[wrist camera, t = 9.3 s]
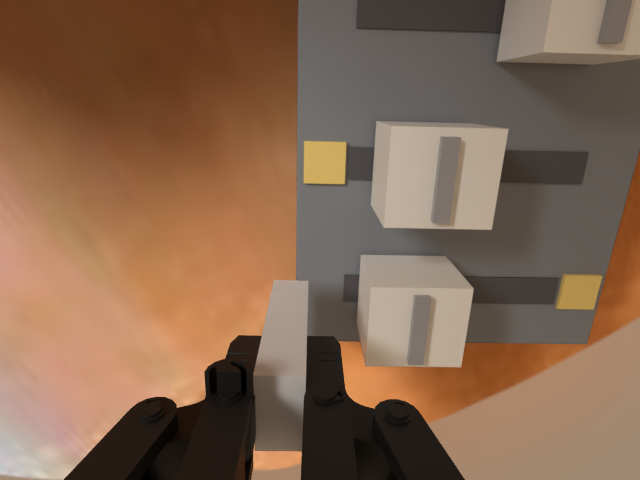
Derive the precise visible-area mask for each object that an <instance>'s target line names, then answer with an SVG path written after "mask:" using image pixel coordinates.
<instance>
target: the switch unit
mask: <svg viewBox="0 0 640 480" xmlns="http://www.w3.org/2000/svg"><path fill="white" fill-rule="evenodd" d="M505 2H506V0H298V98H297V252H296V281H308V318H307V336H334V337H335V339H336V340H337V341H358V342H360V337H359V332H358V327H357V309H358V292H359V276H360V259H361V255H409V256H446V257H447V258H448V259H449V260H450V261H451V263H452V264H453V265H454V266H455V267H456V268H457V270H458V271H459V272H460V273H461V274H462V275H463V277H464V278H465V279H466V280H467V281H468V282H469V284H470V285H471V286H472V287H473V288H474V291H473V297H472V303H471V309H470V316H469V322H468V328H467V334H466V341H465V343H536V344H587V342H588V338H589V335H590V331H591V327H592V324H593V320H594V316H595V313H596V309H597V305H598V302H599V298H600V294H601V291H602V287H603V283H604V280H605V276H606V272H607V269H608V265H609V261H610V258H611V254H612V250H613V247H614V243H615V239H616V236H617V232H618V228H619V225H620V221H621V217H622V214H623V210H624V206H625V203H626V199H627V195H628V192H629V188H630V184H631V181H632V177H633V173H634V170H635V166H636V162H637V159H638V155H639V151H640V59H635V60H627V61H619V62H611V63H603V64H595V65H588V64H553V63H519V62H496V61H497V55H498V48H499V42H500V35H501V28H502V22H503V15H504V9H505ZM376 121H398V122H438V123H472V124H479V125H486V126H493V127H499V128H506V129H509V130H508V136H507V142H506V148H505V153H504V159H503V165H502V171H501V177H500V183H499V189H498V195H497V201H496V207H495V213H494V219H493V225H492V230H476V229H421V228H383V226H382V224H381V222H380V220H379V219H378V217H377V215H376V213H375V211H374V210H373V208H372V206H371V193H372V178H373V163H374V148H375V133H376Z"/></svg>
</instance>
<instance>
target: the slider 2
mask: <svg viewBox="0 0 640 480" xmlns="http://www.w3.org/2000/svg"><path fill="white" fill-rule="evenodd" d="M473 291H474V288H473V287H472V286H471V285H470V284H469V282H468V281H467V280H466V279H465V278H464V277H463V275H462V274H461V273H460V272H459V271H458V270H457V268H456V267H455V266H454V265H453V264H452V263H451V261H450V260H449V259H448V258H447V257H446V256H409V255H361V259H360V276H359V292H358V309H357V327H358V332H359V337H360V342H361V347H362V352H363V357H364V362H365V366H383V367H461V365H462V359H463V353H464V347H465V341H466V334H467V328H468V322H469V316H470V309H471V303H472V297H473Z"/></svg>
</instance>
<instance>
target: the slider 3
mask: <svg viewBox="0 0 640 480" xmlns="http://www.w3.org/2000/svg"><path fill="white" fill-rule="evenodd" d="M635 59H640V0H506V2H505V9H504V15H503V22H502V28H501V35H500V42H499V48H498V55H497V61H496V62H519V63H553V64H588V65H595V64H603V63H611V62H619V61H627V60H635Z"/></svg>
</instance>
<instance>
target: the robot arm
mask: <svg viewBox="0 0 640 480" xmlns="http://www.w3.org/2000/svg"><path fill="white" fill-rule="evenodd" d="M307 318H308V281H295V280H274V283H273V287H272V292H271V296H270V301H269V306H268V310H267V315H266V319H265V324H264V328H263V333H262V336H244V335H239V336H238V337H237V338H236V339H234V340H233V341H232V342H231V343H230V346H229V349H228V353H227V355H226V358H225V359H223V360H220V361H217V362H214V363H213V364H211V365H210V366H208V368H207V369H206V370H205V387H206V397H205V399H204V400H203V401H200V402H198V403H196V404H192V405H188V406H184V407H179V408H177V406H176V404H175V402H174V401H173V400H171V399H169V398H166V397H154V398H149V399H146V400H143V401H141V402H139V403H137V404H136V405H135V406H133V407H132V408H131V409H130V410H129V411H128V412H127V413H126V414H125V415H124V416H123V417H122V418H121V419H120V421H119V422H118V423H117V424H116V425H115V426H114V427H113V428H112V429H111V430H110V431H109V432H108V433H107V434H106V435H105V436H104V438H103V439H102V440H101V441H100V442H99V443H98V444H97V445H96V446H95V447H94V448H93V449H92V450H91V451H90V452H89V453H88V454H87V456H86V457H85V458H84V459H83V460H82V461H81V462H80V463H79V464H78V465H77V466H76V467H75V468H74V469H73V470H72V471H71V472H70V474H69V475H68V476H67V477H66V478H65V479H64V480H251V476H252V470H253V449H254V443H255V451H302V464H301V480H465V479H464V478H463V476H462V475H461V474H460V472H459V470H458V469H457V467H456V466H455V464H454V463H453V462H452V460H451V458H450V457H449V456H448V454H447V453H446V451H445V450H444V448H443V447H442V445H441V444H440V442H439V441H438V439H437V438H436V436H435V435H434V433H433V432H432V430H431V429H430V427H429V426H428V424H427V423H426V421H425V420H424V418H423V417H422V415H421V414H420V412H419V411H418V410H417V409H416V408H415V407H414V406H413V405H411V404H409V403H407V402H405V401H401V400H397V399H390V400H385V401H382V402H380V403H379V404H378V405H377V406H376V407H375V409H373V408H369V407H365V406H363V405H360V404H358V403H356V402H354V401H353V400H352V399H351V398H350V397H349V396H348V395H347V392H346V390H345V384H344V375H343V366H342V357H341V348H340V344H339V342H338V341H337V340H336V339H335V337H334V336H307Z"/></svg>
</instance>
